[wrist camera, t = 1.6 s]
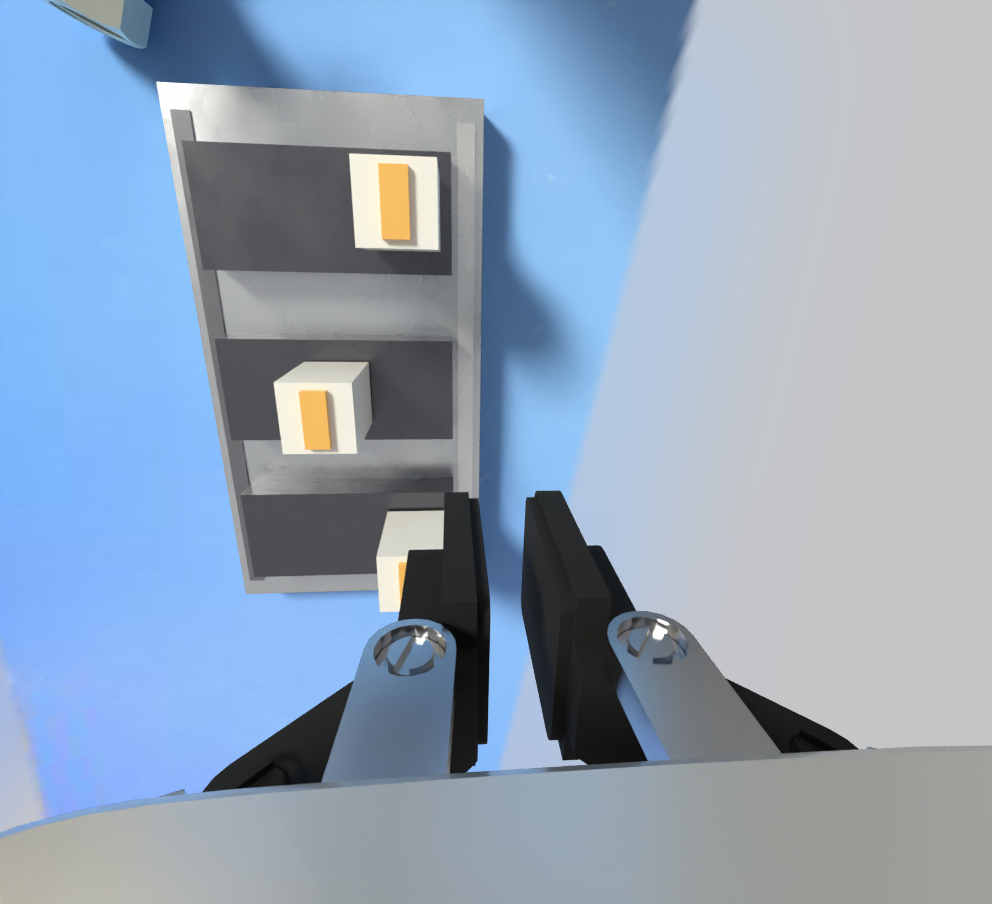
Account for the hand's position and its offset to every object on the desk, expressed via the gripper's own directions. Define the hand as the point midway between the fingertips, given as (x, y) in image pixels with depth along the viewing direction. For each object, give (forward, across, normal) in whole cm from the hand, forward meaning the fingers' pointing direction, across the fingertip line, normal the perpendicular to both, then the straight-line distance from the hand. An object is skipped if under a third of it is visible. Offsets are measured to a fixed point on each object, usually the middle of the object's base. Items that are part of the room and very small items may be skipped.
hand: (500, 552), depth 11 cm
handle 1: (+15, +3, -8) cm, 17 cm away
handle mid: (+15, +7, 0) cm, 16 cm away
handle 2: (+15, +3, +8) cm, 17 cm away
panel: (+19, +6, 0) cm, 20 cm away
